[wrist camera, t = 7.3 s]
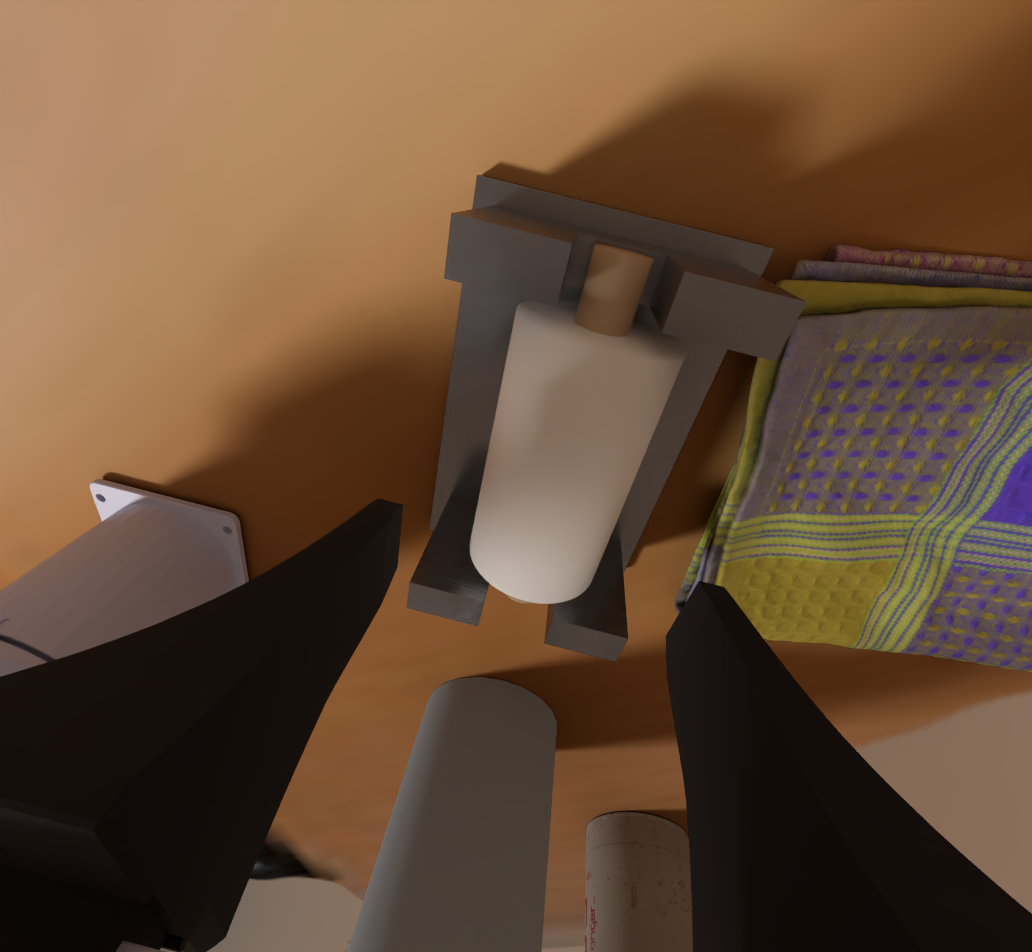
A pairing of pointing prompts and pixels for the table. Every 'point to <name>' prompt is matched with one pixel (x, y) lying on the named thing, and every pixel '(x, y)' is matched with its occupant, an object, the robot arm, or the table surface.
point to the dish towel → (888, 463)
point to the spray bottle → (467, 828)
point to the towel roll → (570, 431)
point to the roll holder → (561, 276)
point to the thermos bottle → (637, 885)
